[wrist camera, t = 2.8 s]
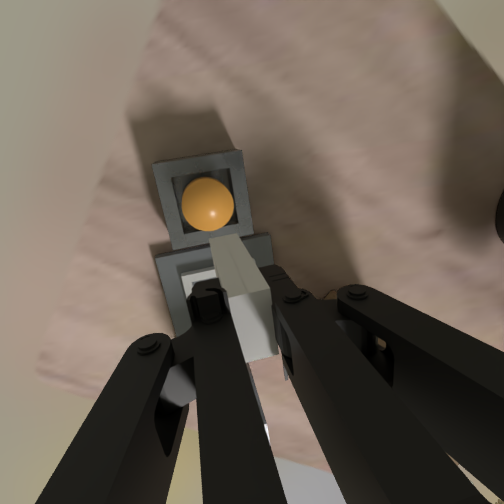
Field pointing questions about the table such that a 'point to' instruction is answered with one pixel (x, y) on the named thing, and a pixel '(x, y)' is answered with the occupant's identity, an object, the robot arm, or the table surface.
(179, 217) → the button station
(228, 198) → the button
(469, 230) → the table surface
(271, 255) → the plate
